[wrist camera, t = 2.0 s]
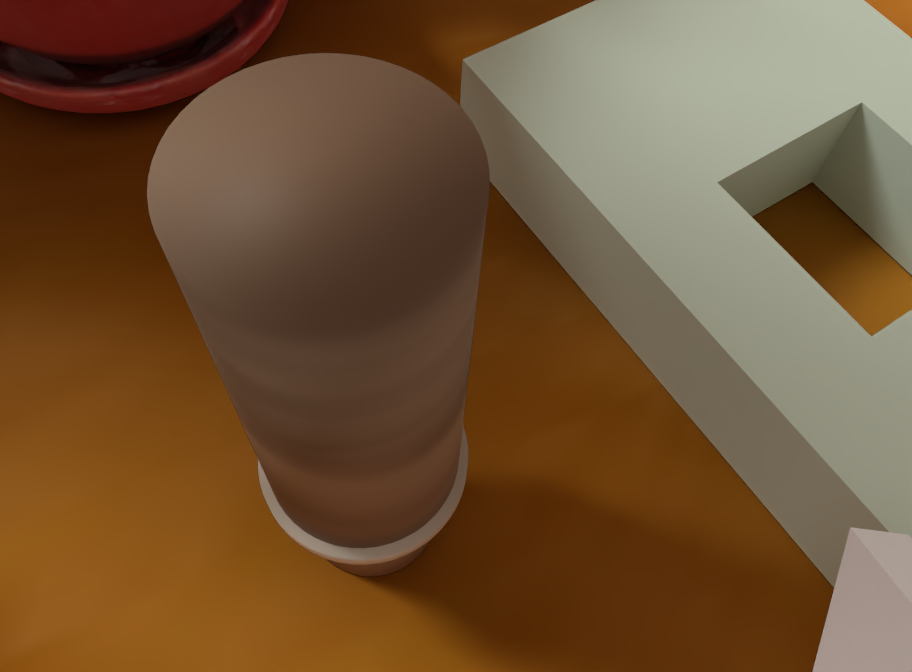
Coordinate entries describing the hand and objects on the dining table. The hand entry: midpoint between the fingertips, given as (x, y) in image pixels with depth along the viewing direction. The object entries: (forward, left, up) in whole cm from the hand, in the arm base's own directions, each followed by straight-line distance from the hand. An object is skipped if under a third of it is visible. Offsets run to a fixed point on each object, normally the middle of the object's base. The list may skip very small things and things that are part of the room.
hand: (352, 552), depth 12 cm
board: (-2, +16, -9) cm, 19 cm away
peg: (-3, +2, -9) cm, 10 cm away
